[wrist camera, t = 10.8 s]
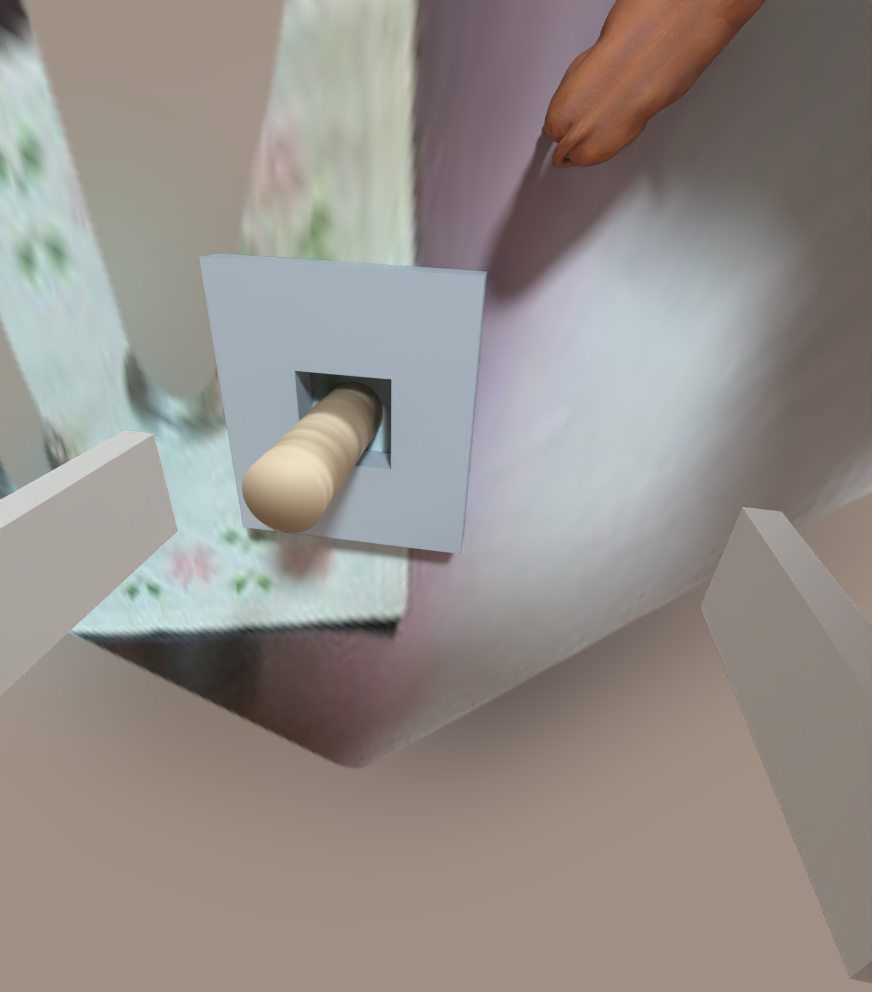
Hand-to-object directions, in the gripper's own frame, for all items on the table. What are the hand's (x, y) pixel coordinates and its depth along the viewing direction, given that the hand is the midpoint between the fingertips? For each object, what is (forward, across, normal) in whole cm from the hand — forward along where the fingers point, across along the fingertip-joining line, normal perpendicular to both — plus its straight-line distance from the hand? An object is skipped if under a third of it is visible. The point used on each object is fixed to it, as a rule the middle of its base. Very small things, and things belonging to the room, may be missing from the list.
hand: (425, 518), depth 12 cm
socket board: (+22, -8, -6) cm, 24 cm away
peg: (+22, -9, -6) cm, 24 cm away
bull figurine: (+23, +6, +13) cm, 27 cm away
